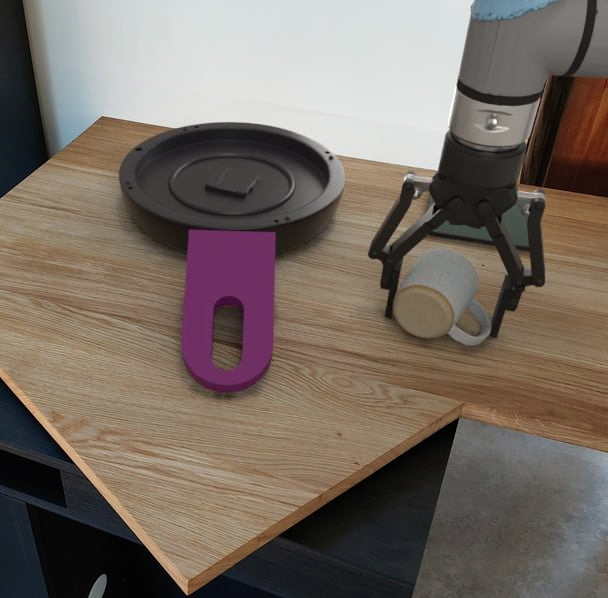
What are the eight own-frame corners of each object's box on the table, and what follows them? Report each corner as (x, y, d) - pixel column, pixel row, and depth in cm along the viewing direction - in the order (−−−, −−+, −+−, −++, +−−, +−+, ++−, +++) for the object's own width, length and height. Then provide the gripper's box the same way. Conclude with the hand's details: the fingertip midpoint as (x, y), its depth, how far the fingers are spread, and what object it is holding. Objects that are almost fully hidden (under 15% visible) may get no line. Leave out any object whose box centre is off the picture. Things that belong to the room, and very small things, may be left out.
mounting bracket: (268, 415, 85) (272, 271, 92) (272, 386, 77) (276, 232, 84) (182, 411, 86) (192, 268, 92) (177, 383, 78) (189, 229, 84)
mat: (533, 200, 110) (535, 196, 109) (532, 252, 100) (534, 247, 99) (433, 185, 112) (434, 181, 112) (422, 234, 103) (423, 230, 102)
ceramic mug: (383, 331, 87) (395, 274, 82) (408, 293, 92) (420, 238, 87) (476, 363, 83) (494, 306, 78) (496, 322, 89) (515, 266, 84)
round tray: (363, 178, 114) (176, 143, 122) (369, 139, 110) (174, 105, 117) (303, 289, 93) (81, 238, 101) (307, 246, 89) (76, 197, 97)
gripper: (356, 134, 73) (332, 320, 88) (622, 171, 68) (548, 361, 83) (369, 103, 78) (344, 284, 93) (616, 135, 73) (548, 320, 88)
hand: (440, 320), depth 88 cm, fingers closed on ceramic mug, 11 cm apart
